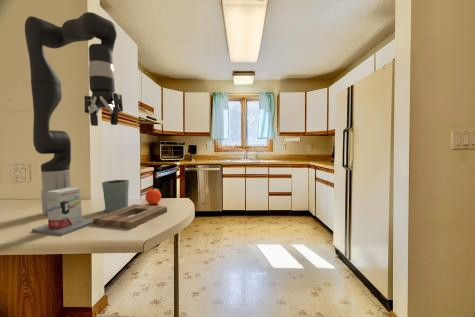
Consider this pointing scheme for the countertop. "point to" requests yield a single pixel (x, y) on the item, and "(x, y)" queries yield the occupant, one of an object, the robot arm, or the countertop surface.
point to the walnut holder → (121, 219)
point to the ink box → (64, 207)
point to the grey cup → (115, 194)
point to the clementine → (153, 196)
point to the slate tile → (66, 229)
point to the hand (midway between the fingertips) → (104, 125)
